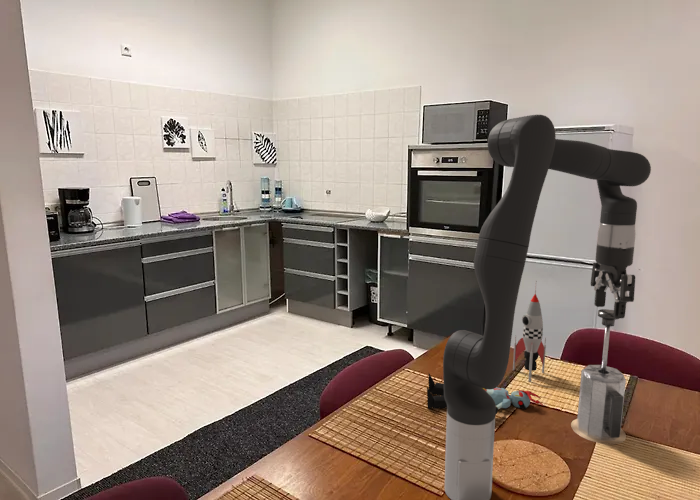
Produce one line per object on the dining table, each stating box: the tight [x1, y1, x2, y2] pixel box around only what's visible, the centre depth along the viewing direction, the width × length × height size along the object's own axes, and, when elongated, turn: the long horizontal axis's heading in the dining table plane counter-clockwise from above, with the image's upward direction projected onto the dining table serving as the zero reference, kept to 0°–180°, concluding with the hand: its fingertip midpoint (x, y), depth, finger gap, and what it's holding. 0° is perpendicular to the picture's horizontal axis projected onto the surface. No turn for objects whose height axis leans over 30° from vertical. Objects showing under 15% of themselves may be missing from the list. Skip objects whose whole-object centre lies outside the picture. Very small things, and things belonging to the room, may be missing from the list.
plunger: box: [594, 308, 621, 380], centre depth 116 cm, size 6×6×18 cm
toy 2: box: [512, 280, 547, 382], centre depth 149 cm, size 9×8×30 cm
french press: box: [576, 364, 627, 441], centre depth 117 cm, size 12×10×15 cm
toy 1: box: [426, 373, 544, 415], centre depth 134 cm, size 26×8×30 cm
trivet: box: [570, 418, 627, 445], centre depth 120 cm, size 12×12×1 cm
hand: (608, 311), depth 114 cm, fingers open, 8 cm apart
